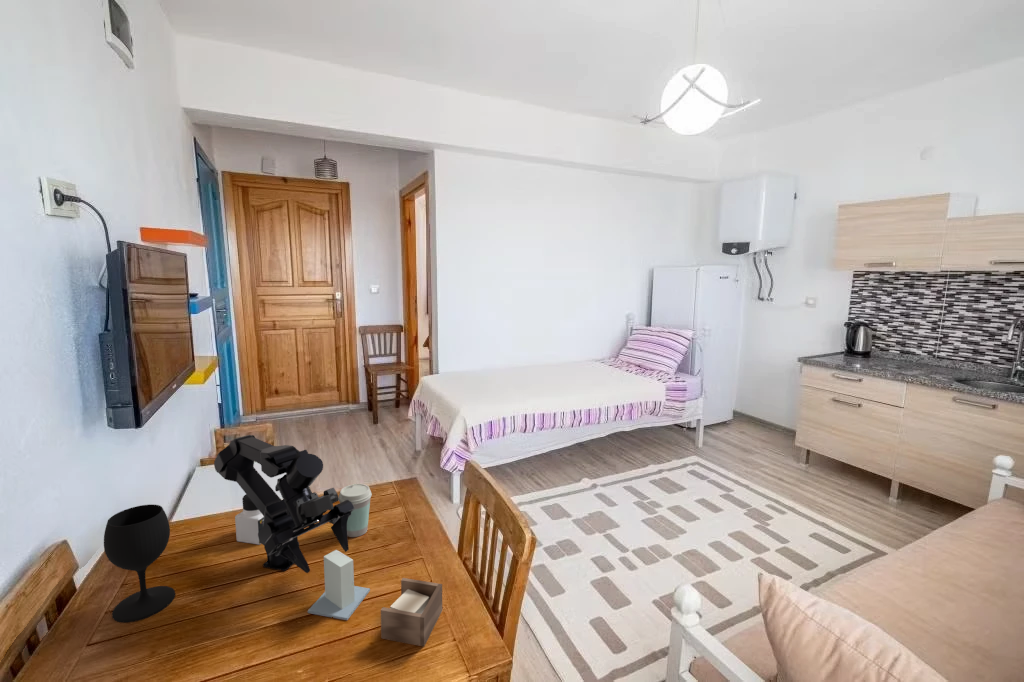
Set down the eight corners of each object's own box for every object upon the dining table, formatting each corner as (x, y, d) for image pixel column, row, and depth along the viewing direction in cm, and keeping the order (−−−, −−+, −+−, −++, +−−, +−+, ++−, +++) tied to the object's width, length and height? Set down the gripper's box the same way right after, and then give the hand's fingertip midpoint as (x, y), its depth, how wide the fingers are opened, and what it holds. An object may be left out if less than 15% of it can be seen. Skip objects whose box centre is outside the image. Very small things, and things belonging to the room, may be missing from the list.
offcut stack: (387, 630, 88) (387, 609, 88) (406, 608, 94) (406, 588, 94) (414, 639, 86) (414, 618, 86) (431, 616, 92) (431, 596, 92)
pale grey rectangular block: (325, 597, 96) (323, 556, 95) (337, 589, 99) (336, 549, 97) (342, 609, 93) (340, 567, 92) (354, 601, 95) (353, 559, 94)
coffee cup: (360, 519, 128) (358, 479, 127) (379, 529, 123) (378, 488, 122) (333, 532, 121) (331, 491, 120) (352, 544, 116) (350, 500, 115)
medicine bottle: (259, 545, 115) (257, 501, 114) (235, 541, 117) (232, 498, 115) (279, 530, 122) (277, 488, 121) (256, 527, 124) (254, 485, 122)
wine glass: (104, 629, 87) (93, 534, 84) (120, 596, 96) (111, 508, 93) (170, 612, 92) (161, 521, 89) (179, 582, 101) (172, 498, 98)
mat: (307, 612, 92) (307, 610, 92) (333, 584, 101) (333, 582, 101) (347, 620, 91) (347, 618, 90) (370, 590, 99) (369, 588, 99)
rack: (381, 638, 86) (380, 610, 85) (403, 603, 95) (402, 577, 95) (424, 646, 84) (424, 617, 84) (442, 610, 94) (442, 584, 93)
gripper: (268, 497, 90) (300, 569, 85) (349, 466, 105) (380, 526, 100) (251, 521, 95) (280, 589, 91) (330, 488, 111) (359, 546, 106)
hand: (328, 561), depth 97 cm, fingers open, 9 cm apart
